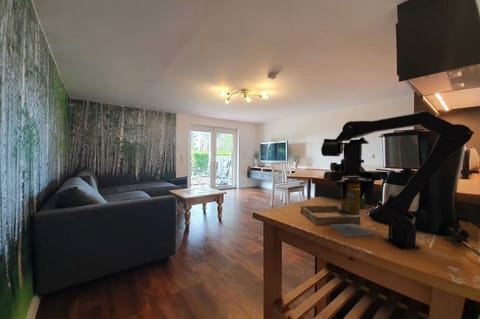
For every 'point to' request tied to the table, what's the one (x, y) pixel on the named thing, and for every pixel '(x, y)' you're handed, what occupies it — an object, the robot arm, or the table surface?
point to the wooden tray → (317, 220)
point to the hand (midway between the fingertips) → (351, 199)
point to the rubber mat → (350, 230)
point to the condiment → (351, 199)
